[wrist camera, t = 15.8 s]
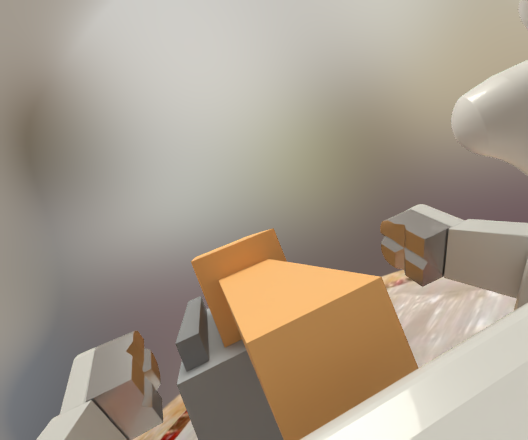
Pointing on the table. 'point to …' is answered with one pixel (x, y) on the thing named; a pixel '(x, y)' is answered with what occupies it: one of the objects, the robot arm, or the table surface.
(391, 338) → the lever
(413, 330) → the table surface
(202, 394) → the tall grey bin
